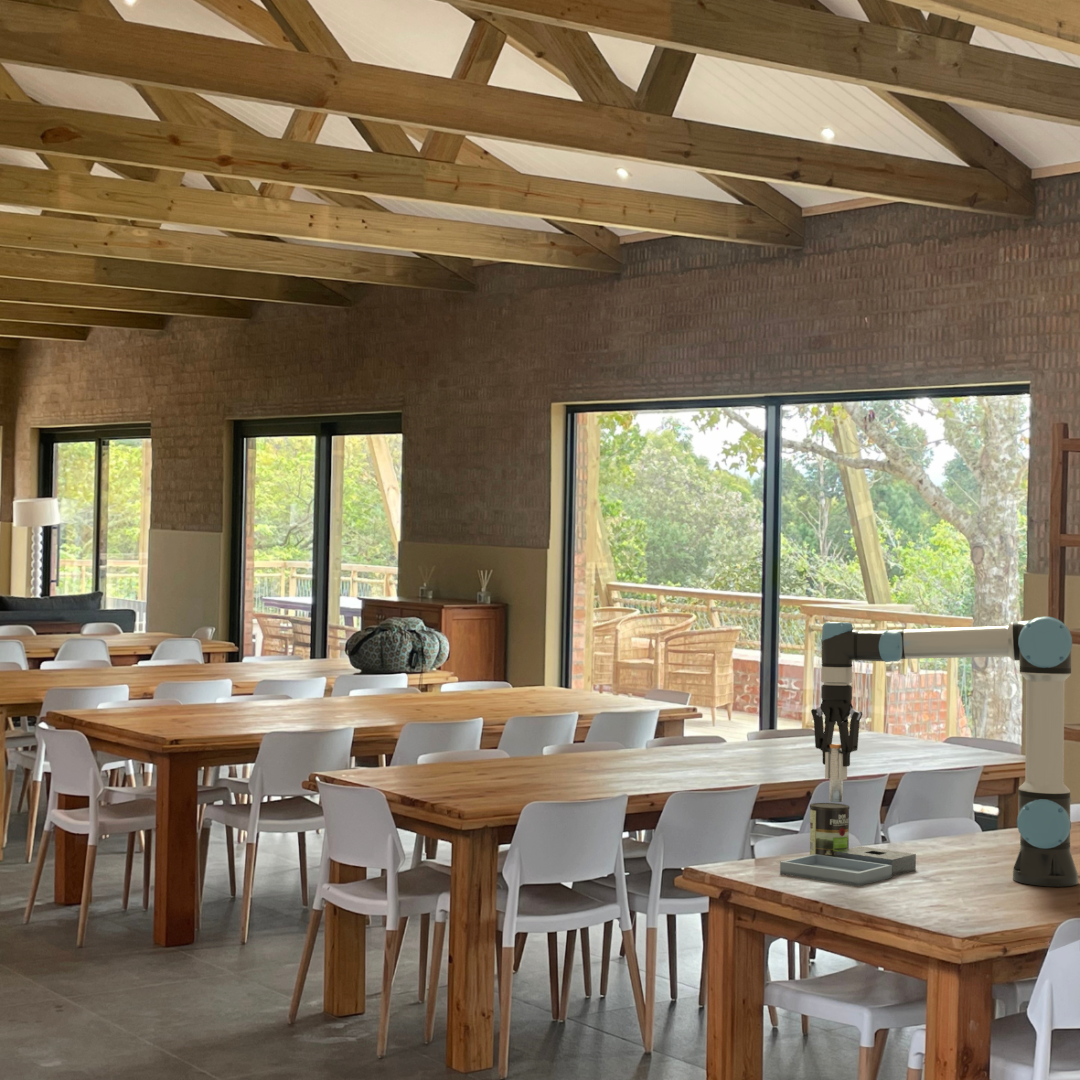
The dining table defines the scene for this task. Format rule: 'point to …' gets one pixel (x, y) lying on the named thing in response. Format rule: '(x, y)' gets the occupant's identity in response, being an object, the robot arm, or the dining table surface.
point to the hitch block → (881, 858)
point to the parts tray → (836, 869)
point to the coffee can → (829, 828)
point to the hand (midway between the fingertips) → (836, 778)
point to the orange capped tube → (835, 775)
